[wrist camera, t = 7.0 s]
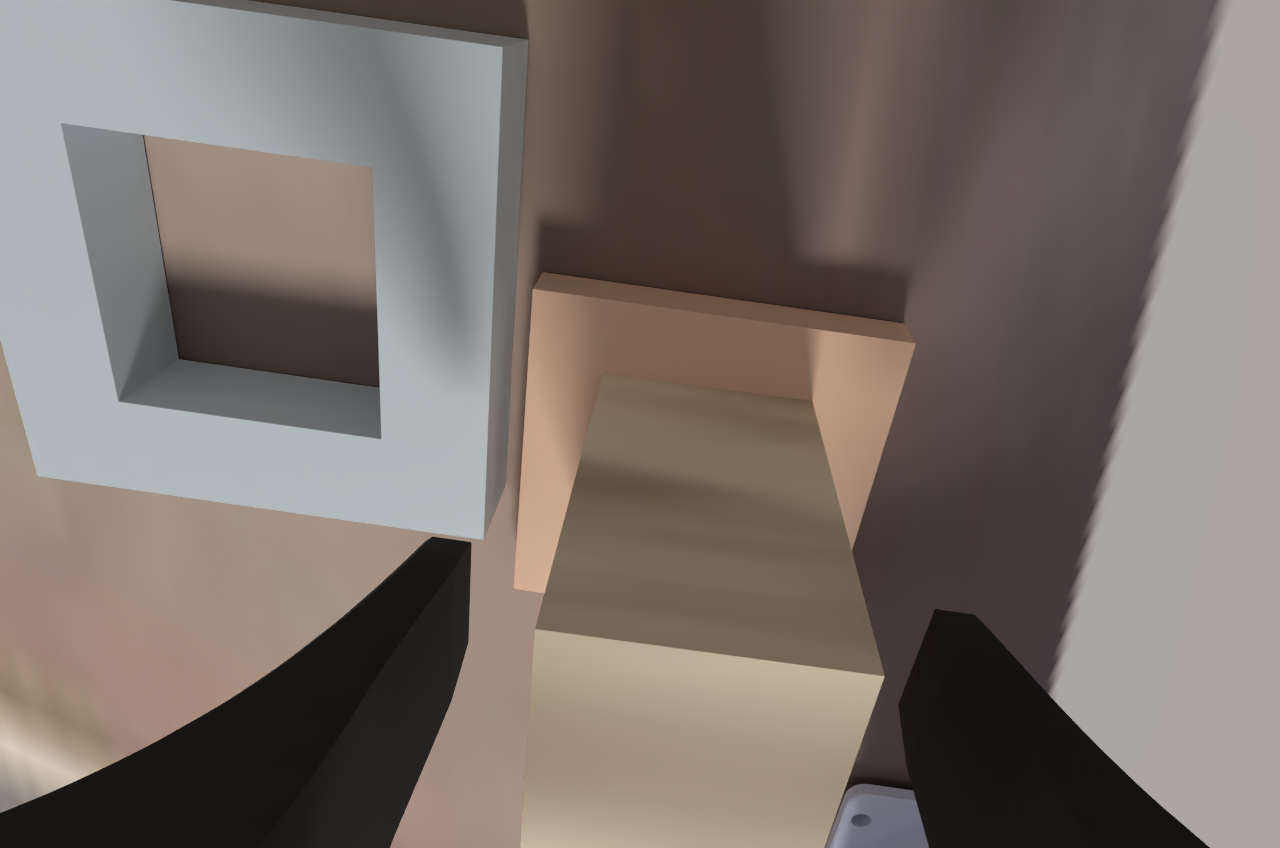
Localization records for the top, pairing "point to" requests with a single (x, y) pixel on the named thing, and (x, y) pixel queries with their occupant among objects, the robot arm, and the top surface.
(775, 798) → the birch block
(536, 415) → the terracotta tile
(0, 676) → the top surface
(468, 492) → the board
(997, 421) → the top surface
